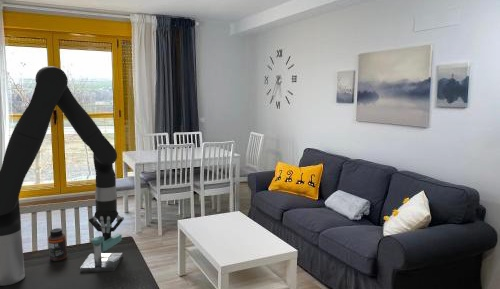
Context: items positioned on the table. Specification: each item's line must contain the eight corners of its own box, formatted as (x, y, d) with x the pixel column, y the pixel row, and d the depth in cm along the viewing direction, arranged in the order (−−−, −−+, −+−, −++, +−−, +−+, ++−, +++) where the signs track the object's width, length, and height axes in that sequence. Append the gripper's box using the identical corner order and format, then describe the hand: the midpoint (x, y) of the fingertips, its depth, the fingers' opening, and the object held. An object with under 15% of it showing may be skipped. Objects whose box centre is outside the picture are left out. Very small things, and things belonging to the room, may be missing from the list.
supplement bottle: (62, 253, 156) (60, 225, 154) (69, 257, 152) (68, 229, 151) (46, 258, 152) (44, 230, 150) (54, 263, 148) (52, 234, 146)
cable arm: (89, 255, 141) (88, 240, 140) (115, 239, 155) (114, 226, 154) (98, 256, 140) (98, 242, 139) (123, 240, 154) (123, 227, 153)
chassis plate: (79, 272, 141) (78, 245, 140) (90, 257, 153) (89, 232, 151) (114, 271, 142) (113, 244, 141) (122, 256, 154) (121, 231, 152)
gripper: (84, 200, 145) (85, 245, 148) (121, 200, 146) (122, 245, 149) (91, 194, 152) (92, 237, 155) (126, 194, 153) (126, 237, 156)
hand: (107, 241), depth 152 cm, fingers closed
